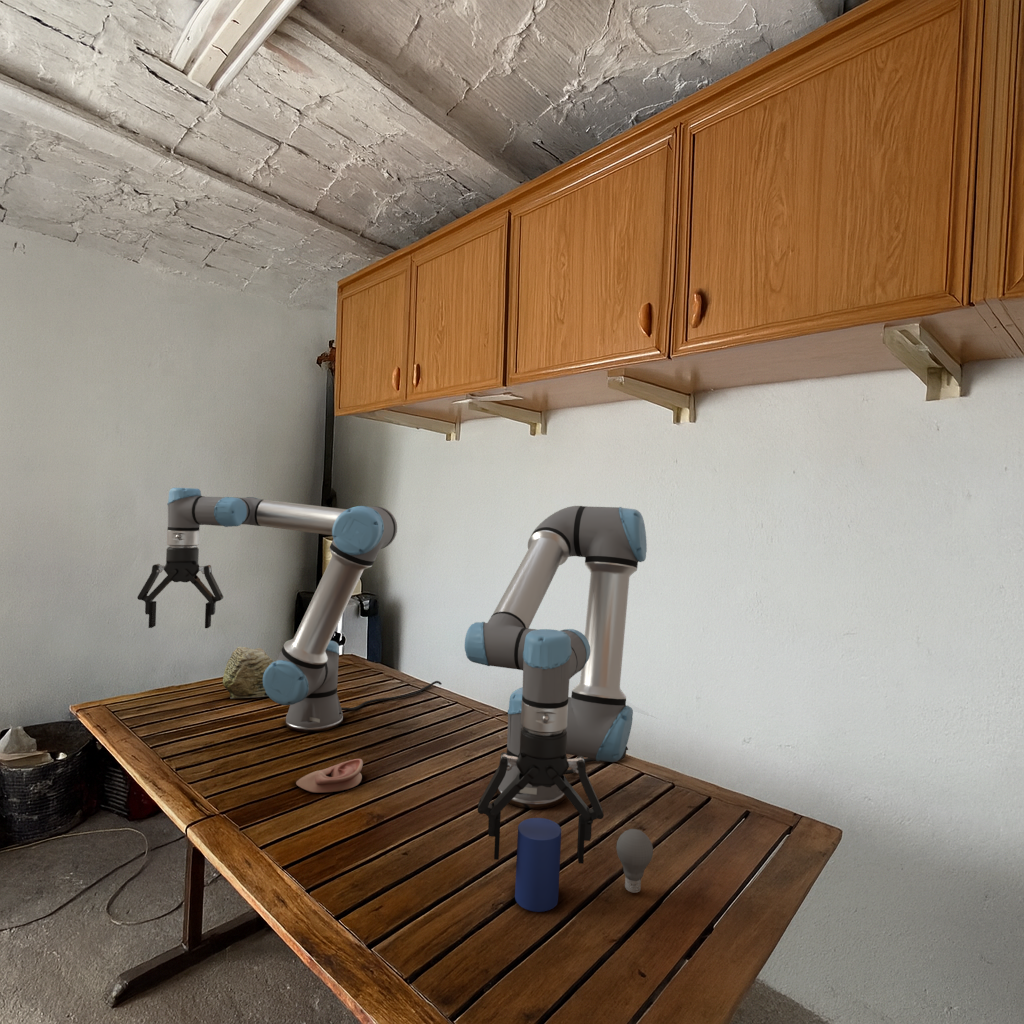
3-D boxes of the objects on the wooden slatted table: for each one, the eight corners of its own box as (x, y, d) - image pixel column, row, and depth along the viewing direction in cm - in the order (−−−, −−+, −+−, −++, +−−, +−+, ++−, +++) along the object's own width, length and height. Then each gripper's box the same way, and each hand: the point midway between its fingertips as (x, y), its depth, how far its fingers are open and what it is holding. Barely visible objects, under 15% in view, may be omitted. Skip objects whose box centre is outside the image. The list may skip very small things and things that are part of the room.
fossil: (218, 695, 195) (220, 647, 195) (278, 685, 208) (279, 640, 207) (228, 703, 189) (230, 653, 188) (289, 692, 201) (290, 645, 201)
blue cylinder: (567, 902, 102) (570, 832, 102) (532, 917, 98) (535, 844, 98) (540, 880, 108) (543, 813, 108) (506, 893, 104) (509, 824, 103)
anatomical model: (289, 770, 136) (316, 750, 147) (288, 789, 136) (315, 767, 147) (346, 778, 133) (369, 757, 145) (345, 797, 133) (368, 774, 145)
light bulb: (610, 879, 108) (613, 822, 108) (644, 879, 109) (647, 822, 109) (619, 902, 102) (622, 840, 102) (655, 901, 103) (658, 840, 103)
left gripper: (124, 546, 160) (122, 629, 161) (229, 549, 165) (226, 630, 165) (136, 544, 168) (134, 623, 168) (236, 546, 172) (234, 624, 172)
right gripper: (465, 732, 99) (459, 866, 99) (625, 739, 99) (618, 874, 99) (468, 716, 106) (463, 840, 107) (617, 722, 106) (611, 847, 107)
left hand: (180, 627), depth 167 cm, fingers open, 13 cm apart
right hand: (538, 857), depth 103 cm, fingers open, 13 cm apart
